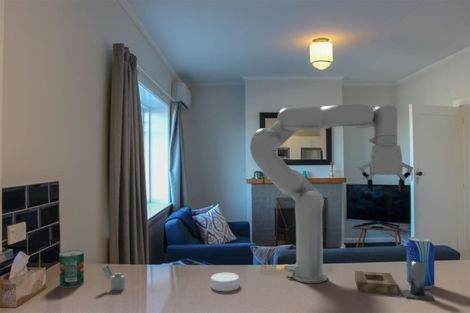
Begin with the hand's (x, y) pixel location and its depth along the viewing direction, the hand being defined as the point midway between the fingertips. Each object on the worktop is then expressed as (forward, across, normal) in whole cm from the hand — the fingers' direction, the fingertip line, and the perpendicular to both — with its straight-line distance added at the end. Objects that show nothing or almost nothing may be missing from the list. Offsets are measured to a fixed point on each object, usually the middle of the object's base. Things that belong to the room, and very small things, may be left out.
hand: (385, 191), depth 124 cm
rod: (+32, +8, -8) cm, 34 cm away
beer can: (+32, +11, +2) cm, 34 cm away
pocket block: (+32, -4, -2) cm, 33 cm away
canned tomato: (+32, -107, -23) cm, 114 cm away
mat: (+32, +8, -8) cm, 34 cm away
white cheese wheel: (+33, -54, -13) cm, 65 cm away
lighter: (+32, -90, -24) cm, 99 cm away
